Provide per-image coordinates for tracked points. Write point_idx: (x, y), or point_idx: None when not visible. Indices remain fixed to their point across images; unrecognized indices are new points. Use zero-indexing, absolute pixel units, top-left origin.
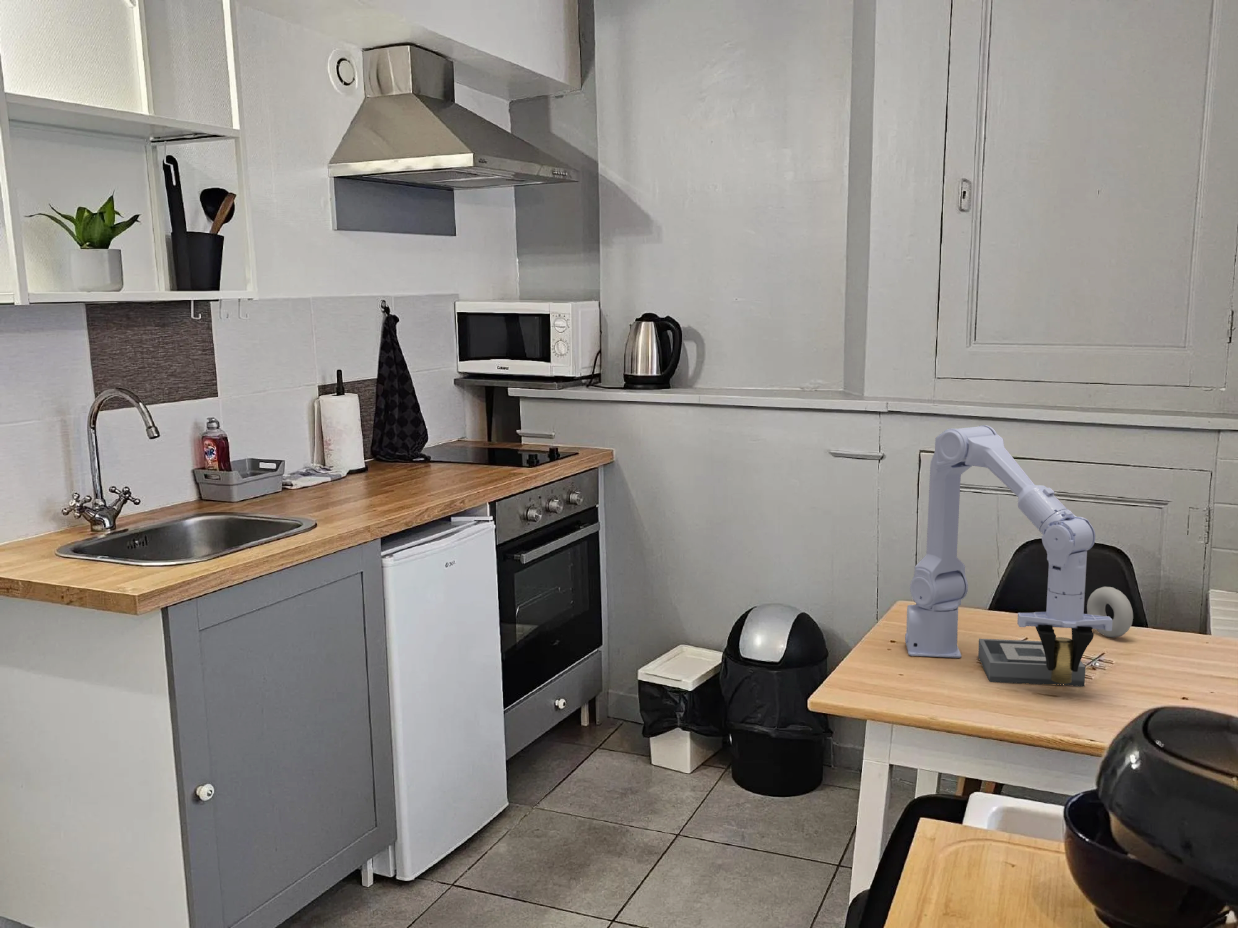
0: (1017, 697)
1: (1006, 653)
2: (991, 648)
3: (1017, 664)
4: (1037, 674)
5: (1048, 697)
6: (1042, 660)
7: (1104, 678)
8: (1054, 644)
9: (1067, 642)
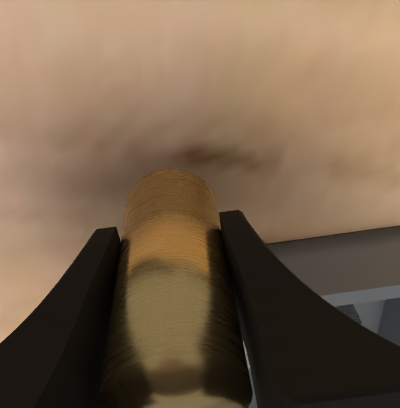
0: (351, 94)
1: None
2: None
3: (339, 291)
4: None
5: (220, 130)
6: None
7: None
8: (257, 322)
9: (147, 373)
